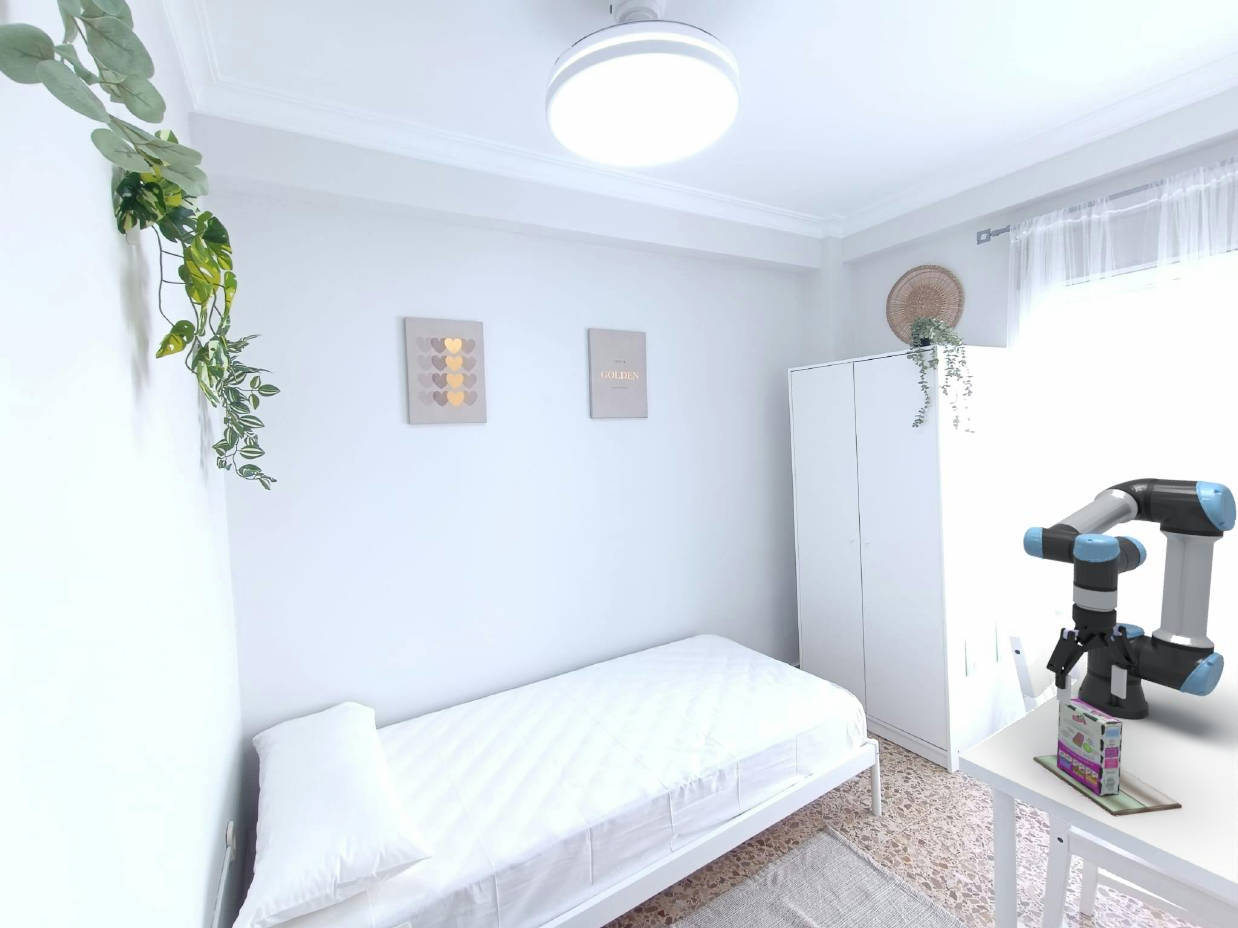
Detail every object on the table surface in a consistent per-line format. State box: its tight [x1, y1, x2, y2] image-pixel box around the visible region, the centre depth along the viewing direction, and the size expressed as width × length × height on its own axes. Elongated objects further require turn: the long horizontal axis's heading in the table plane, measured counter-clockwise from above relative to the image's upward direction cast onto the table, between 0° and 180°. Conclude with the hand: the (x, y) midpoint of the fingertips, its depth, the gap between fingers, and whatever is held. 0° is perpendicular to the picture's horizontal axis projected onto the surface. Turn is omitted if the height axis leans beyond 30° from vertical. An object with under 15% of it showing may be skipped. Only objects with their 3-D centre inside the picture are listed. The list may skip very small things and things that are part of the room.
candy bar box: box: [1056, 698, 1124, 796], centre depth 129 cm, size 11×5×16 cm, turn 7°
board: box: [1033, 754, 1183, 817], centre depth 131 cm, size 16×20×1 cm
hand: (1091, 698), depth 129 cm, fingers open, 13 cm apart
